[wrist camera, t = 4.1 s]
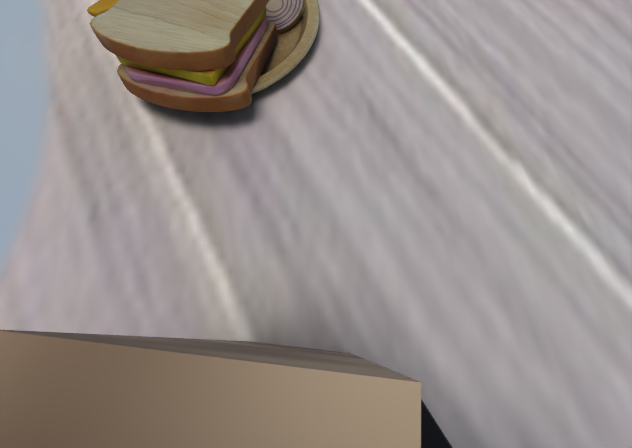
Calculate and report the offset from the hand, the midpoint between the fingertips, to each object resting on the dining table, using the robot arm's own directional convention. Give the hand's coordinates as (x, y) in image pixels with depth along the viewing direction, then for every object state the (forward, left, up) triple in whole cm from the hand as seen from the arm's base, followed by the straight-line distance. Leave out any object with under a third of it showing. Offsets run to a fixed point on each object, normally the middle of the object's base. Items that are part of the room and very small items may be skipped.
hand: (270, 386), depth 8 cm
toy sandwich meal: (+9, -18, -7) cm, 21 cm away
